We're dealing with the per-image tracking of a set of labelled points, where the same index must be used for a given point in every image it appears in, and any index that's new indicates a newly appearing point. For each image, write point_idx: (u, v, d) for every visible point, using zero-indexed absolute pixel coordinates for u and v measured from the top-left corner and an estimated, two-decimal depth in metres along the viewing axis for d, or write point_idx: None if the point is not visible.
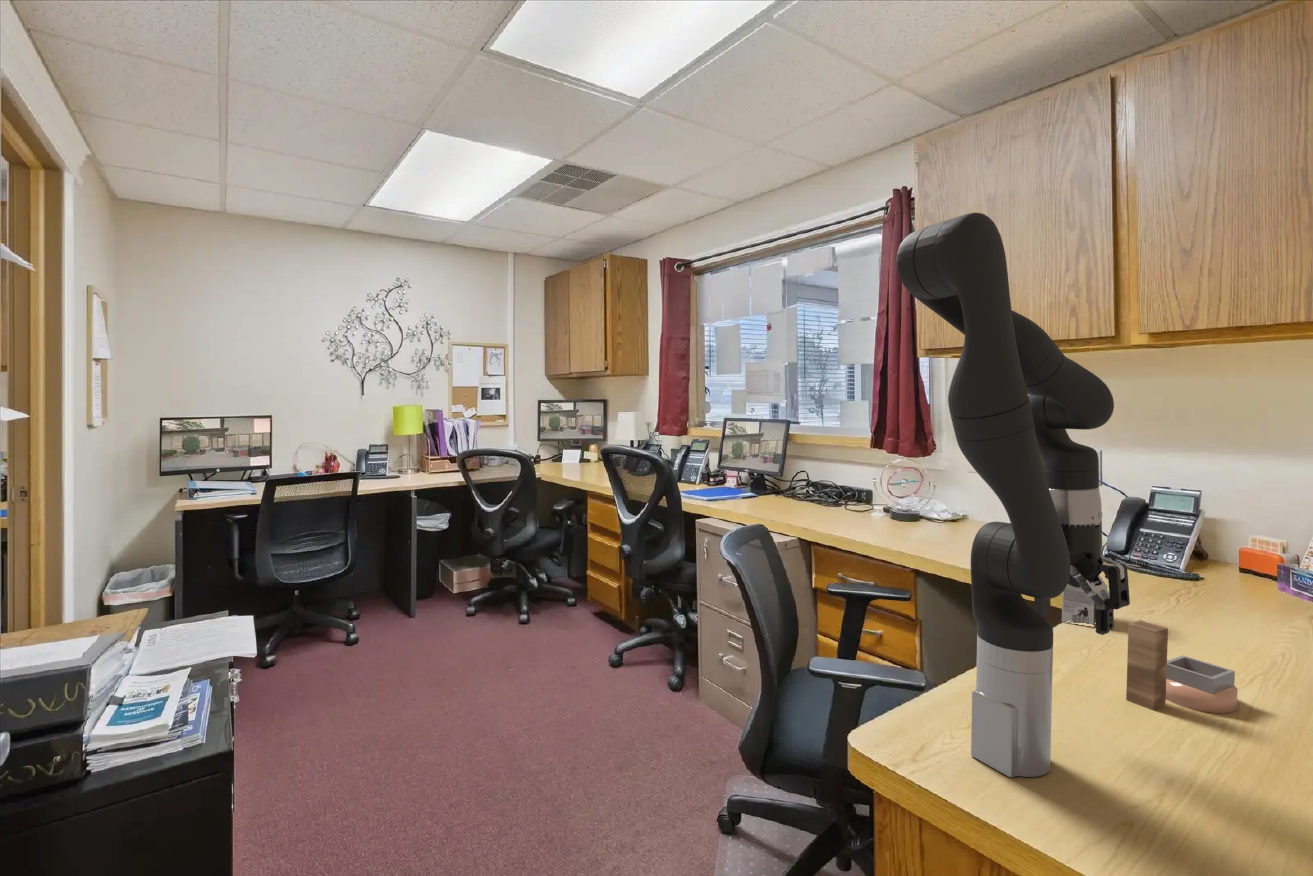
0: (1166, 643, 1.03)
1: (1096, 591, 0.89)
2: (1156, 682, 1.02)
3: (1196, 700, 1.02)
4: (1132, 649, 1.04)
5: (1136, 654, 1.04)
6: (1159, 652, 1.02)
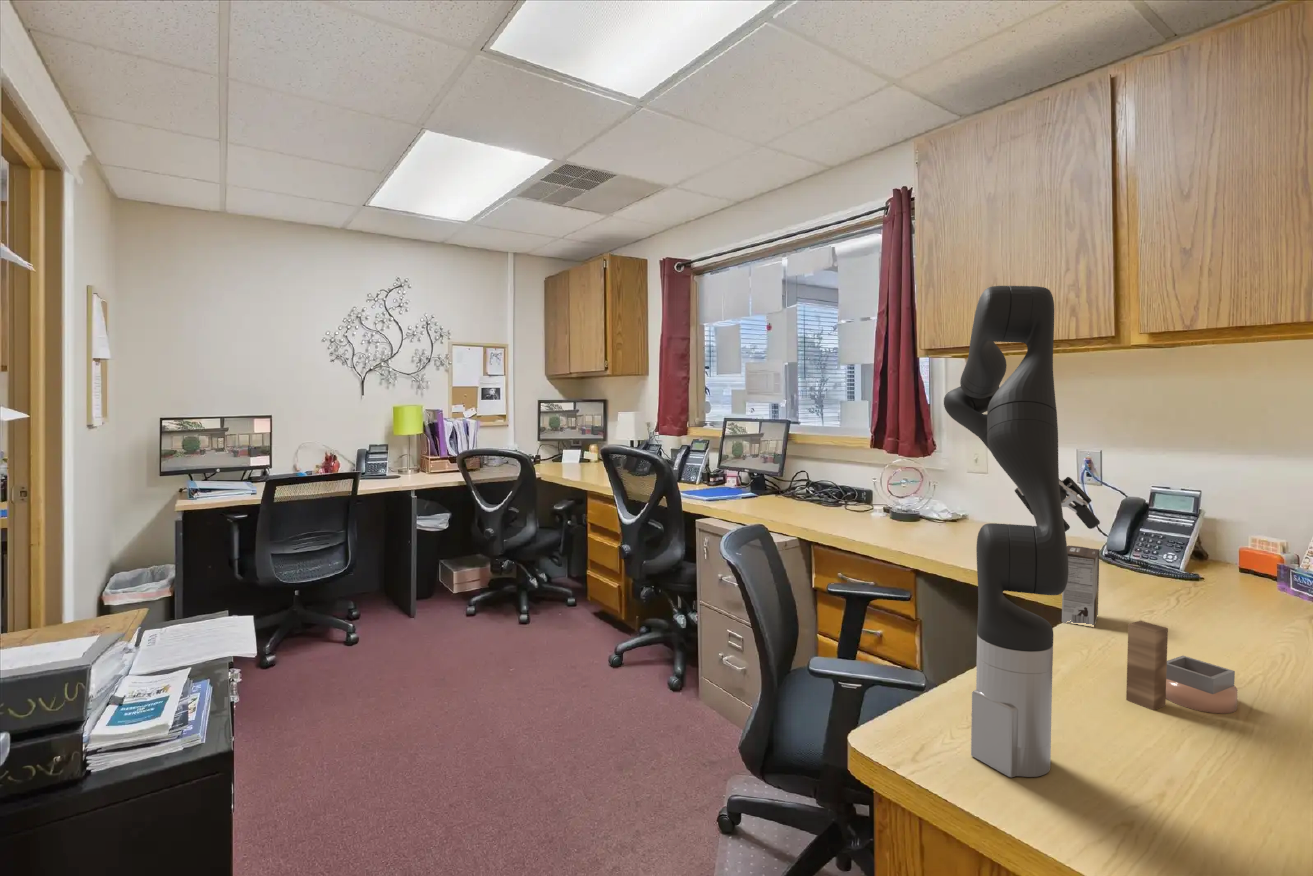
0: (1166, 643, 1.03)
1: None
2: (1156, 682, 1.02)
3: (1196, 700, 1.02)
4: (1132, 649, 1.04)
5: (1135, 654, 1.04)
6: (1159, 652, 1.02)
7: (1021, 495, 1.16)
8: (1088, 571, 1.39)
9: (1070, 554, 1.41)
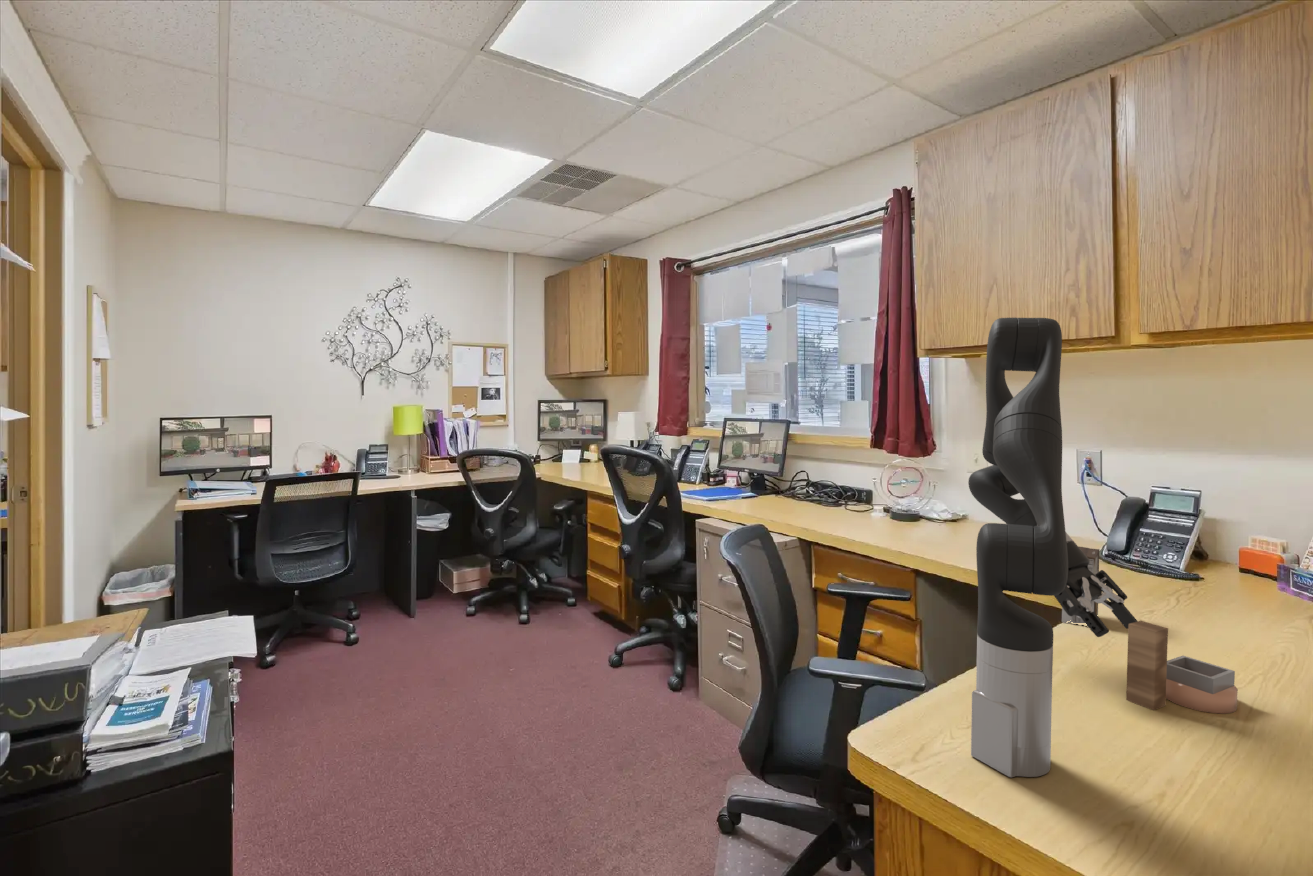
0: (1166, 643, 1.03)
1: None
2: (1156, 682, 1.02)
3: (1196, 700, 1.02)
4: (1132, 649, 1.04)
5: (1135, 654, 1.04)
6: (1159, 652, 1.02)
7: None
8: None
9: None
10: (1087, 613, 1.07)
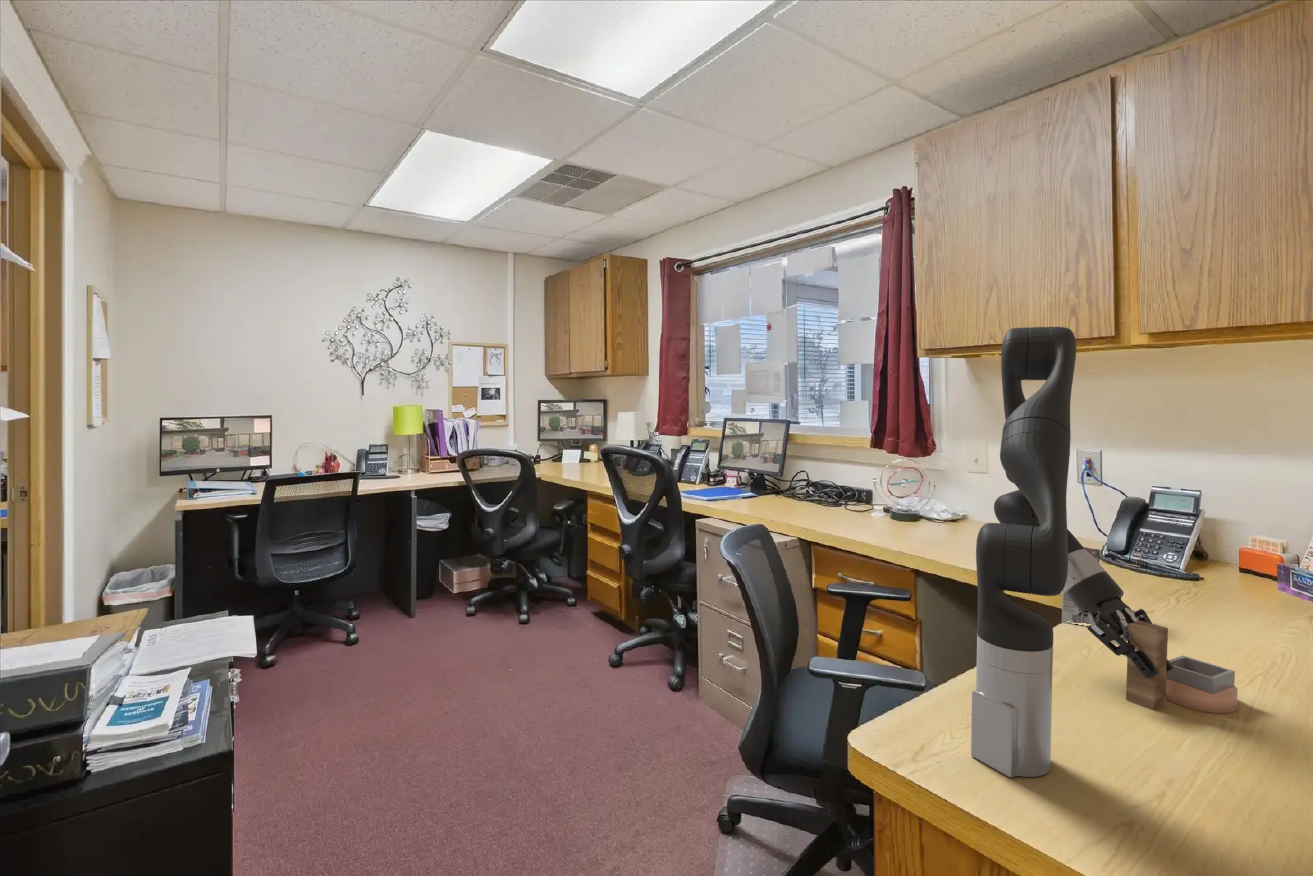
0: (1166, 643, 1.03)
1: None
2: (1156, 682, 1.02)
3: (1196, 700, 1.02)
4: None
5: None
6: (1159, 652, 1.02)
7: (1098, 635, 1.05)
8: None
9: None
10: (1135, 653, 1.03)
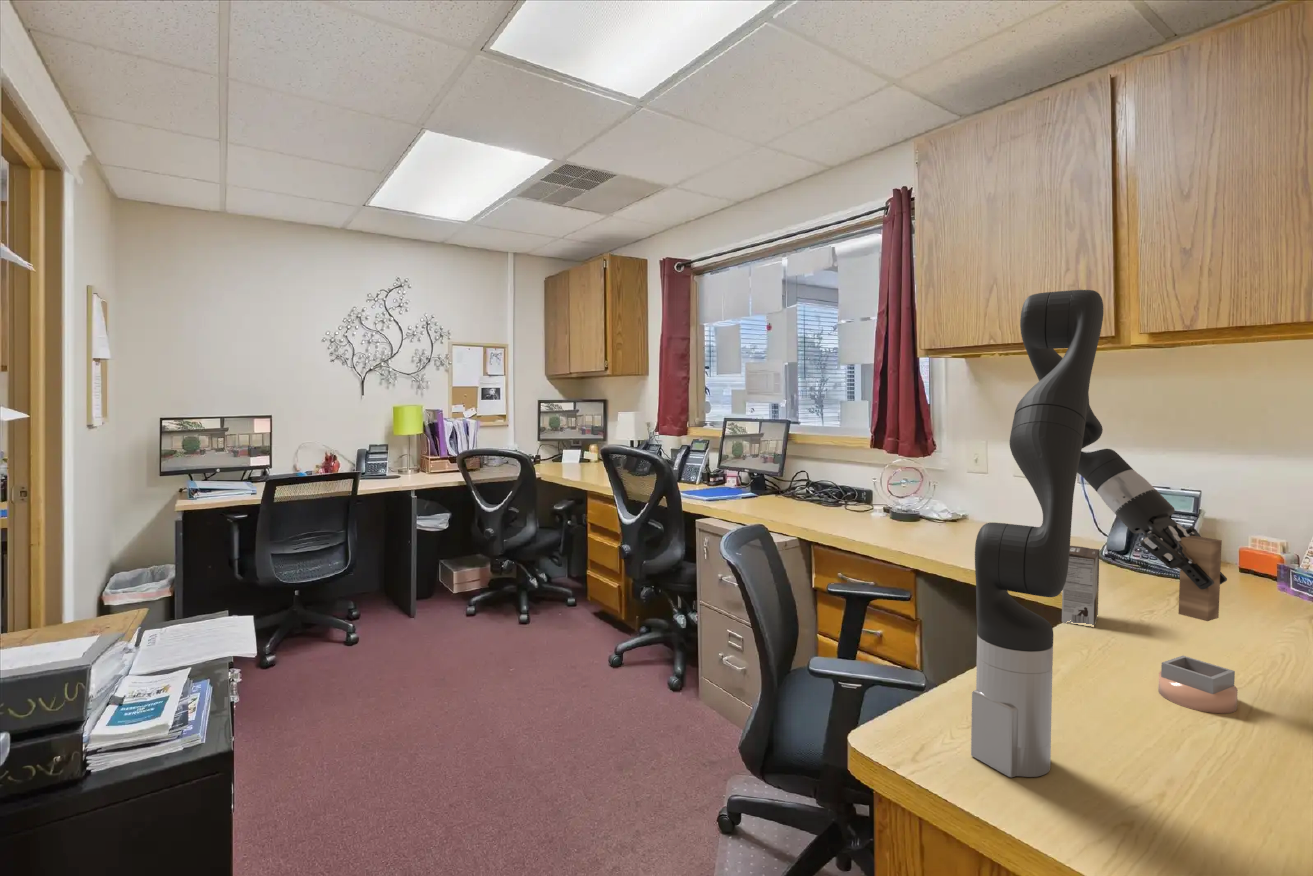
0: (1220, 555, 1.03)
1: None
2: (1210, 593, 1.02)
3: (1196, 700, 1.02)
4: None
5: None
6: (1213, 563, 1.02)
7: (1151, 549, 1.05)
8: (1088, 571, 1.39)
9: (1070, 554, 1.41)
10: (1189, 565, 1.03)
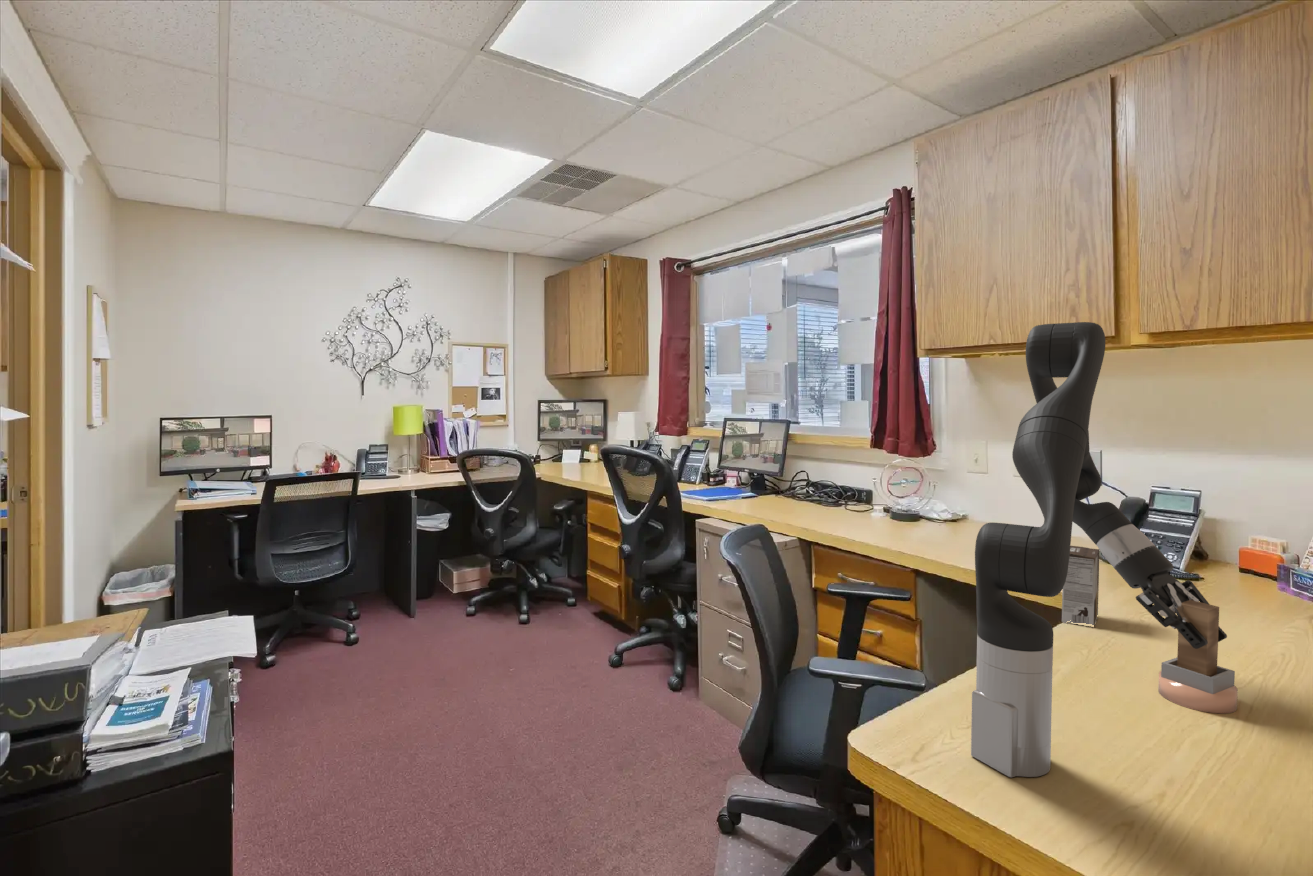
0: (1217, 621, 1.03)
1: None
2: (1208, 660, 1.03)
3: (1196, 700, 1.02)
4: None
5: None
6: (1211, 630, 1.03)
7: (1146, 605, 1.06)
8: (1088, 571, 1.39)
9: (1070, 554, 1.41)
10: (1183, 624, 1.03)
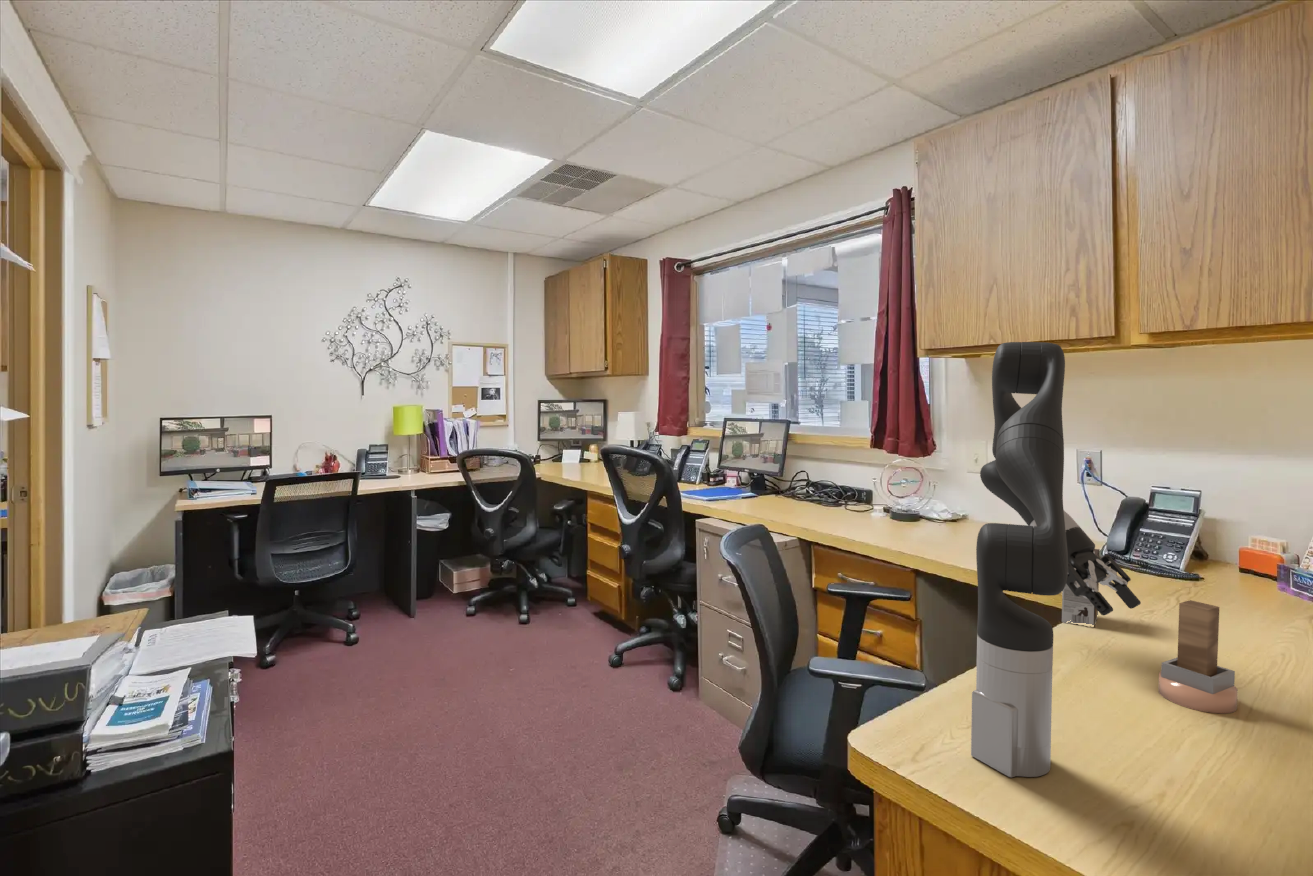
0: (1217, 621, 1.04)
1: None
2: (1208, 660, 1.03)
3: (1196, 700, 1.02)
4: (1183, 628, 1.05)
5: (1187, 633, 1.05)
6: (1211, 630, 1.03)
7: None
8: None
9: None
10: (1093, 593, 1.15)
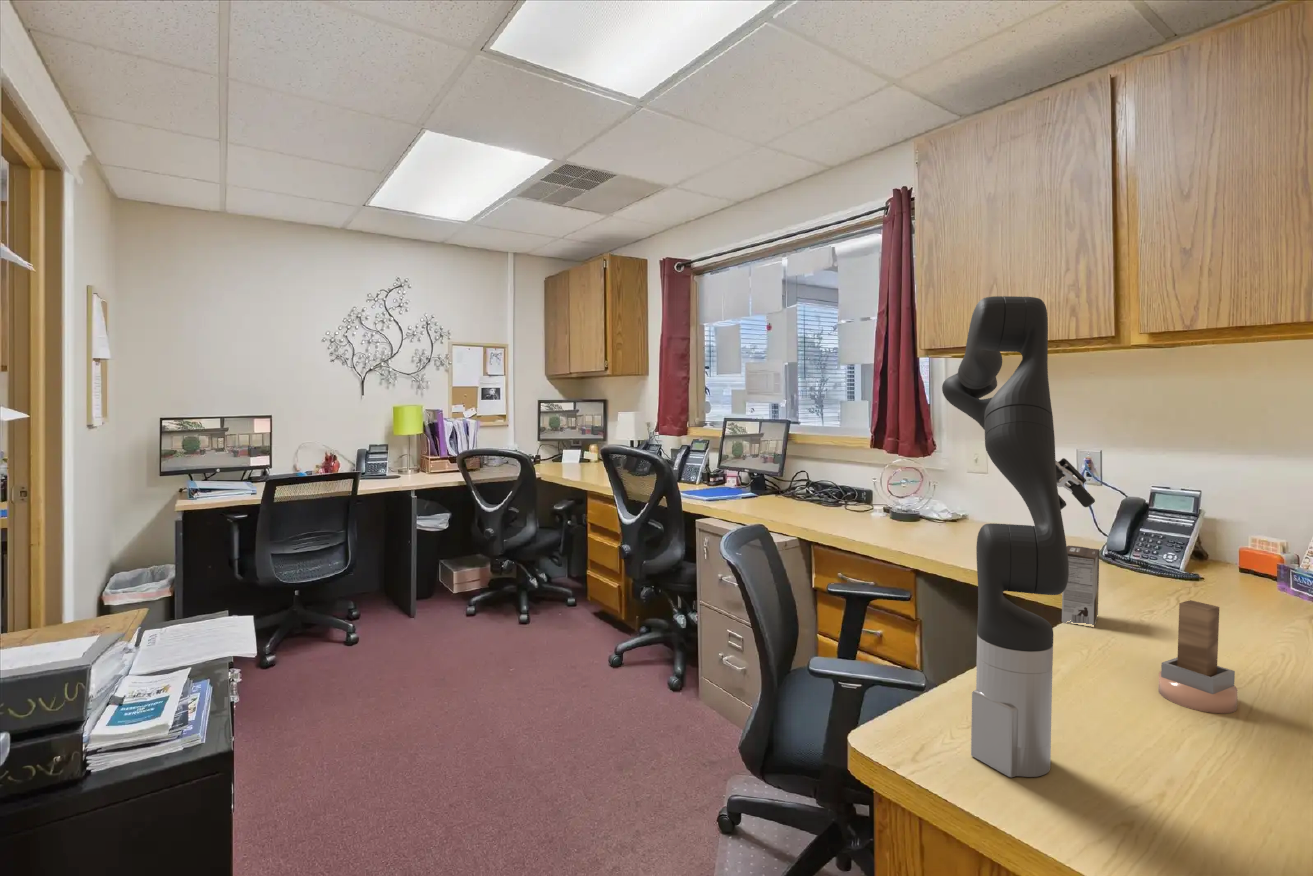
0: (1217, 621, 1.04)
1: None
2: (1208, 660, 1.03)
3: (1196, 700, 1.02)
4: (1183, 628, 1.05)
5: (1187, 633, 1.05)
6: (1211, 630, 1.03)
7: None
8: (1088, 571, 1.39)
9: (1070, 554, 1.41)
10: None
